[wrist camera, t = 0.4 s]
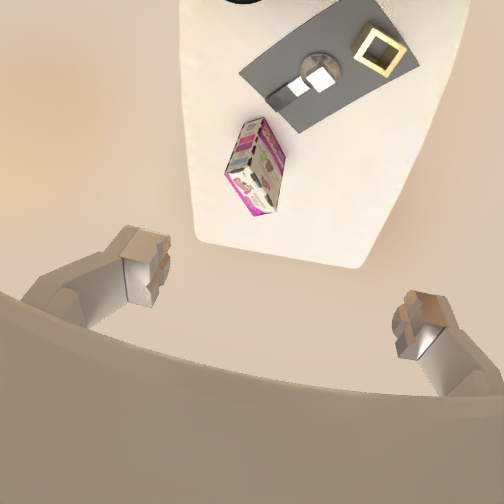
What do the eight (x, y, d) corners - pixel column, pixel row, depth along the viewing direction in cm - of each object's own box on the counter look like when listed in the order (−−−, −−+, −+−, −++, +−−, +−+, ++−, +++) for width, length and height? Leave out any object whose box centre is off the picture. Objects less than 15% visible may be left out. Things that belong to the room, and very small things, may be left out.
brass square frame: (367, 21, 37) (373, 28, 34) (398, 40, 39) (407, 49, 35) (350, 48, 42) (353, 58, 39) (380, 66, 43) (387, 77, 40)
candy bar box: (241, 123, 60) (222, 173, 50) (264, 116, 57) (248, 165, 48) (265, 164, 67) (252, 218, 58) (286, 158, 65) (277, 213, 55)
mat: (363, -14, 33) (363, -13, 32) (419, 65, 41) (419, 65, 41) (239, 73, 51) (238, 73, 50) (298, 132, 59) (298, 133, 59)
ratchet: (323, 45, 43) (324, 53, 40) (348, 74, 46) (350, 85, 43) (259, 90, 52) (254, 101, 49) (284, 115, 56) (281, 128, 53)
